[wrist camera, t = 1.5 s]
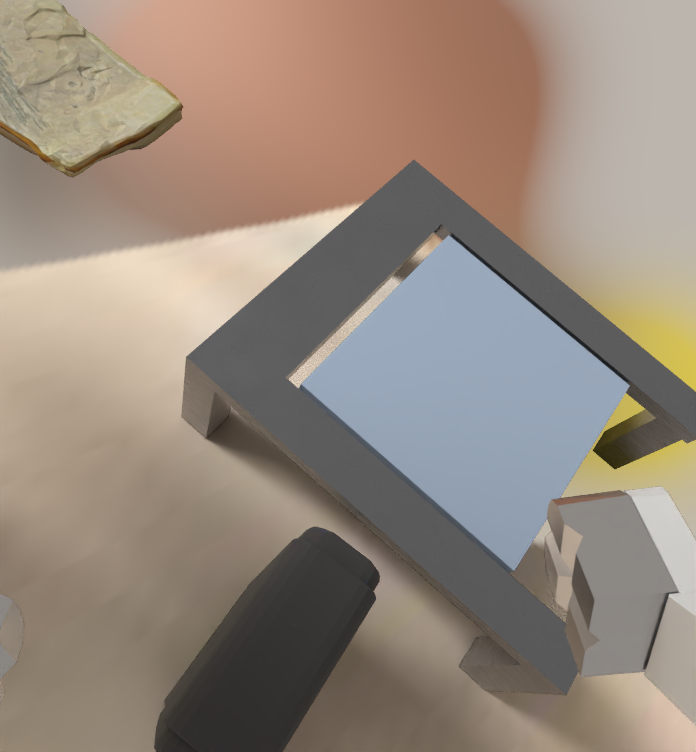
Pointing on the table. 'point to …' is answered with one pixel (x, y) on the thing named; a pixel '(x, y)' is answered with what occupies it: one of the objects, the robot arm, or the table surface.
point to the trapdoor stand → (365, 471)
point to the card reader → (271, 651)
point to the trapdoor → (470, 398)
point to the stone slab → (73, 90)
